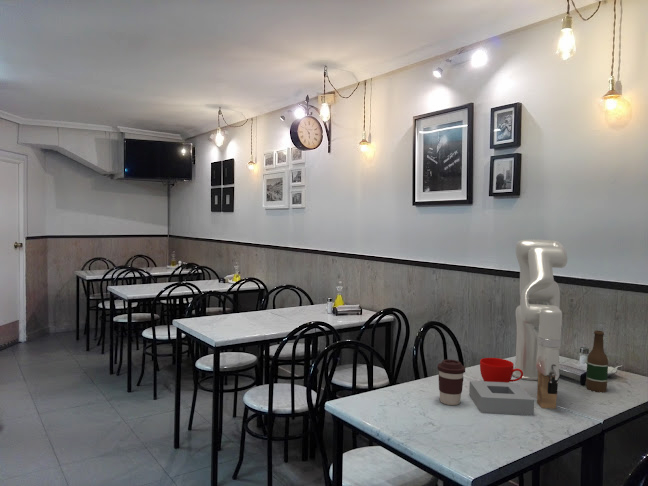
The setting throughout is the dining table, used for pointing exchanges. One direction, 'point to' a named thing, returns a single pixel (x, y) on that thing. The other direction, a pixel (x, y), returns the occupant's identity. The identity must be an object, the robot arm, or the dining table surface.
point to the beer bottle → (597, 365)
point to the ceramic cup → (497, 370)
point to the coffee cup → (450, 381)
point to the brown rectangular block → (545, 393)
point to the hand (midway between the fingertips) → (547, 388)
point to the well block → (501, 398)
